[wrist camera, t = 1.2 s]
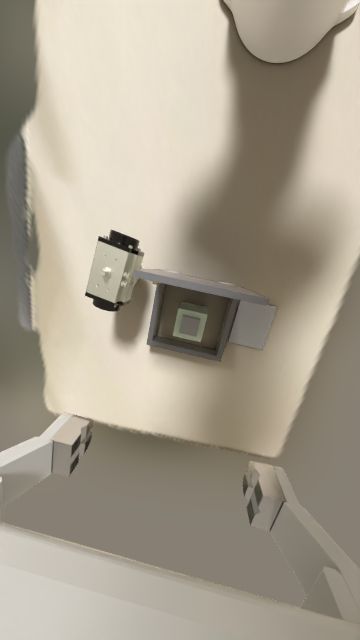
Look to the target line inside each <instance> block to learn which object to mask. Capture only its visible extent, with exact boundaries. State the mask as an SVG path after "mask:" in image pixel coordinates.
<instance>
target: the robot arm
mask: <svg viewBox="0 0 360 640" xmlns="http://www.w3.org/2000/svg"><path fill="white" fill-rule="evenodd" d="M223 1H224V2H225V3H226V5H227V6H228V7H229V8H230V10H231V11H232V14H233V16H234V20H235V24H236V28H237V31H238V34H239V36H240V38H241V40H242V42H243V44H244V45H245V46H246V48H247V49H248V50H249V51H250V52H251V53H252V54H253V55H254V56H256V57H257V58H259V59H261V60H264V61H267V62H271V63H283V62H288V61H291V60H294V59H297V58H299V57H301V56H302V55H304V54H306V53H307V52H308V51H310V50H311V49H312V48H313V47H314V46H315V45H317V44H318V42H319V41H320V40H321V39H322V38H323V37H324V36H325V35H326V33H327V32H328V31H329V30H330V29H331V28H332V27H333V26H335V25H337V24H339V23H340V22H342V21H344V20H345V19H347V18H348V17H350V16H351V15H352V14H353V13H354V12H355V11H356V9H357V7H358V5H359V3H360V0H223ZM92 427H93V420H91V419H88V418H84V417H81V416H77V415H73V414H70V413H66V412H65V413H63V414H61V415H60V416H59V417H58V418H57V420H55V421H54V422H53V423H52V424H51V425H50V427H48V429H46V431H44V433H43V434H42V435H41V436H40V437H34V438H31V439H30V440H27V441H25V442H22V443H20V444H18V445H16V446H13V447H11V448H9V449H7V450H4V451H2V452H0V640H360V570H359V568H358V567H357V566H356V565H355V564H354V563H353V562H352V561H351V560H350V558H349V557H348V556H347V555H346V554H345V553H344V552H343V551H342V550H341V548H340V547H339V546H338V545H337V544H336V543H335V542H334V541H333V539H332V538H331V537H329V535H328V534H327V533H326V532H325V531H324V529H323V528H322V527H321V526H320V525H319V524H318V523H317V522H316V521H315V520H314V518H313V517H312V516H311V515H310V514H309V513H308V512H307V511H306V510H305V508H304V507H302V506H300V505H299V503H298V500H297V498H296V496H295V494H294V491H293V489H292V487H291V485H290V482H289V480H288V478H287V475H286V473H285V471H284V469H283V468H281V467H277V466H273V465H269V464H265V463H261V462H257V461H253V460H251V461H250V462H249V464H248V469H249V471H247V472H246V473H245V475H244V478H243V492H244V496H245V498H246V500H247V501H248V506H247V512H248V517H249V522H250V526H253V527H256V528H259V529H262V530H266V531H269V532H270V534H271V536H272V538H273V540H274V541H275V543H276V545H277V546H278V548H279V550H280V551H281V553H282V554H283V556H284V558H285V560H286V561H287V563H288V565H289V566H290V568H291V570H292V571H293V573H294V574H295V576H296V578H297V580H298V581H299V583H300V585H301V586H302V588H303V590H304V591H305V593H306V595H307V596H306V597H305V599H304V601H303V602H302V604H301V606H300V607H296V606H293V605H289V604H285V603H282V602H279V601H275V600H272V599H268V598H265V597H261V596H258V595H254V594H251V593H247V592H243V591H240V590H237V589H233V588H229V587H226V586H223V585H219V584H216V583H212V582H209V581H205V580H201V579H198V578H195V577H191V576H188V575H184V574H181V573H178V572H174V571H171V570H167V569H164V568H160V567H156V566H153V565H150V564H146V563H142V562H139V561H135V560H132V559H129V558H125V557H121V556H118V555H114V554H110V553H107V552H104V551H101V550H97V549H94V548H90V547H86V546H83V545H80V544H76V543H73V542H69V541H66V540H62V539H59V538H55V537H51V536H48V535H45V534H41V533H38V532H34V531H30V530H27V529H24V528H20V527H16V526H13V525H10V524H6V523H3V508H4V507H5V506H6V505H8V504H9V503H10V502H12V501H13V500H15V499H16V498H18V497H19V496H21V495H22V494H23V493H25V492H26V491H28V490H29V489H30V488H32V487H33V486H35V485H36V484H38V483H39V482H40V481H42V480H43V479H44V478H46V477H47V476H49V475H50V474H51V473H56V474H60V475H64V476H68V477H69V476H70V474H71V473H72V472H73V470H74V469H75V467H76V466H77V464H78V461H79V457H80V456H82V455H83V454H84V453H85V452H86V450H87V448H88V446H89V444H90V441H91V437H92V432H91V430H90V429H91V428H92Z"/></svg>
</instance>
